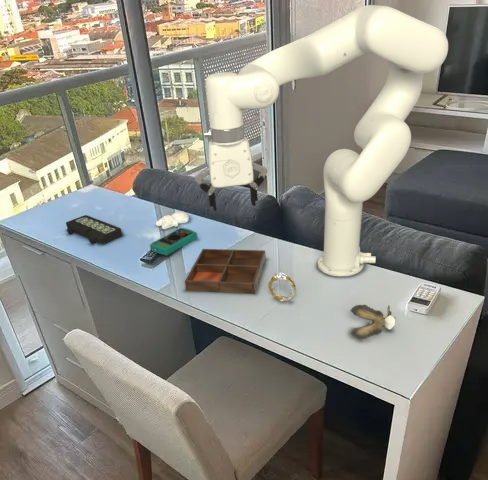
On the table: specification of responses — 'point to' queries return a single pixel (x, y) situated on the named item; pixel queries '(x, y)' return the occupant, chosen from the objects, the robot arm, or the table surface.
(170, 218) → the astronaut figurine
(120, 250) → the table surface
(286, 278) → the ring
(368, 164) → the robot arm
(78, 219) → the digital display
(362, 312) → the eagle figurine
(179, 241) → the digital multimeter
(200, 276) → the tray
